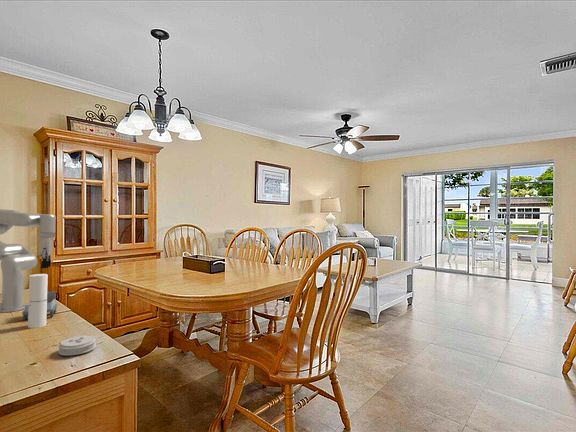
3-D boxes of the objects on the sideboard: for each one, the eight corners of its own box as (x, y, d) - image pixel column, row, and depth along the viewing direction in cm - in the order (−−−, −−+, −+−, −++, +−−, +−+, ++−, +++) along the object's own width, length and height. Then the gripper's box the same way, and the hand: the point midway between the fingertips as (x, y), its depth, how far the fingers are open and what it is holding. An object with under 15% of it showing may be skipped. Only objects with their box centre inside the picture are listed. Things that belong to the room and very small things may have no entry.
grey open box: (28, 314, 173) (28, 293, 173) (57, 312, 179) (57, 291, 179) (21, 321, 162) (22, 298, 162) (53, 317, 168) (53, 295, 168)
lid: (98, 343, 135) (99, 331, 135) (91, 355, 123) (92, 342, 123) (63, 347, 130) (64, 335, 130) (53, 359, 119) (53, 346, 119)
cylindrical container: (38, 328, 152) (40, 276, 153) (23, 327, 152) (25, 276, 153) (49, 323, 159) (51, 273, 160) (36, 323, 160) (37, 273, 160)
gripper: (42, 235, 187) (41, 265, 186) (35, 236, 172) (34, 269, 171) (57, 235, 190) (56, 265, 190) (52, 236, 175) (51, 269, 175)
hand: (46, 267), depth 181 cm, fingers open, 4 cm apart
